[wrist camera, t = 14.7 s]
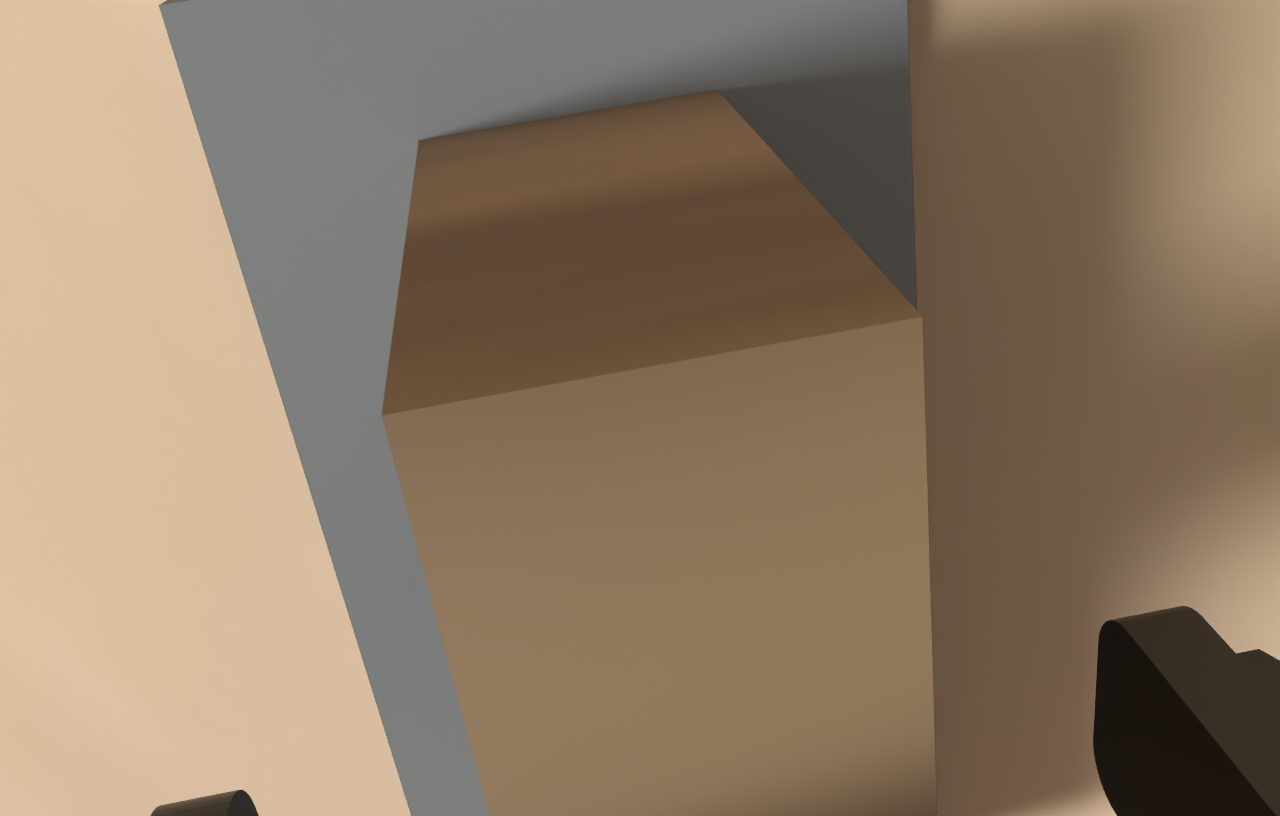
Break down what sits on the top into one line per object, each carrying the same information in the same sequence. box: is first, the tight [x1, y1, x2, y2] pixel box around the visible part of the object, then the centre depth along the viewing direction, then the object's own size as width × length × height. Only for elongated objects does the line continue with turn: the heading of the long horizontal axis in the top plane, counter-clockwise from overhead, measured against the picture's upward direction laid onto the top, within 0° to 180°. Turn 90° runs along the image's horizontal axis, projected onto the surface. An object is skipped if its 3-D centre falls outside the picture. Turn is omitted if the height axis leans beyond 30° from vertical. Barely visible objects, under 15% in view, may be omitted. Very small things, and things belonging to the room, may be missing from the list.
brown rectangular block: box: [381, 90, 937, 816], centre depth 12 cm, size 12×3×6 cm, turn 8°
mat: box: [159, 0, 917, 816], centre depth 15 cm, size 14×7×1 cm, turn 8°
